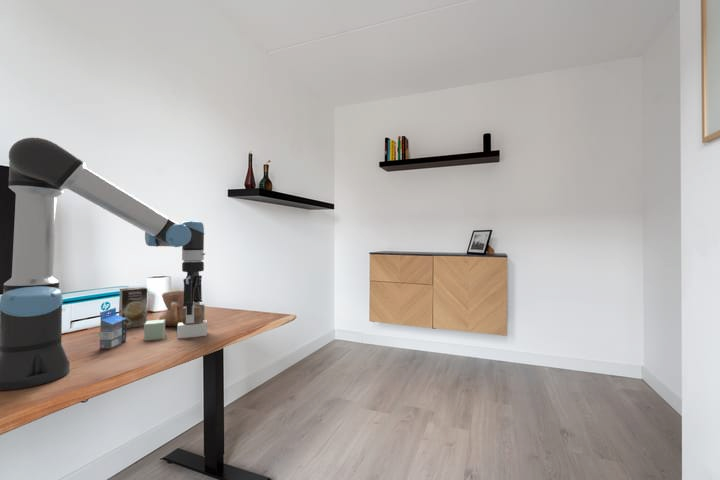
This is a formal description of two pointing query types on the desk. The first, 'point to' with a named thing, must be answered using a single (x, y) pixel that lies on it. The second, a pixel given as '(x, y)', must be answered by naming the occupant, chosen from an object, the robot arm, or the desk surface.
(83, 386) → the desk surface
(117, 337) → the label tape cartridge
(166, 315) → the ceramic jug
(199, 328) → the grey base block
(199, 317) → the walnut cube
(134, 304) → the coffee box
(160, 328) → the sage cube
